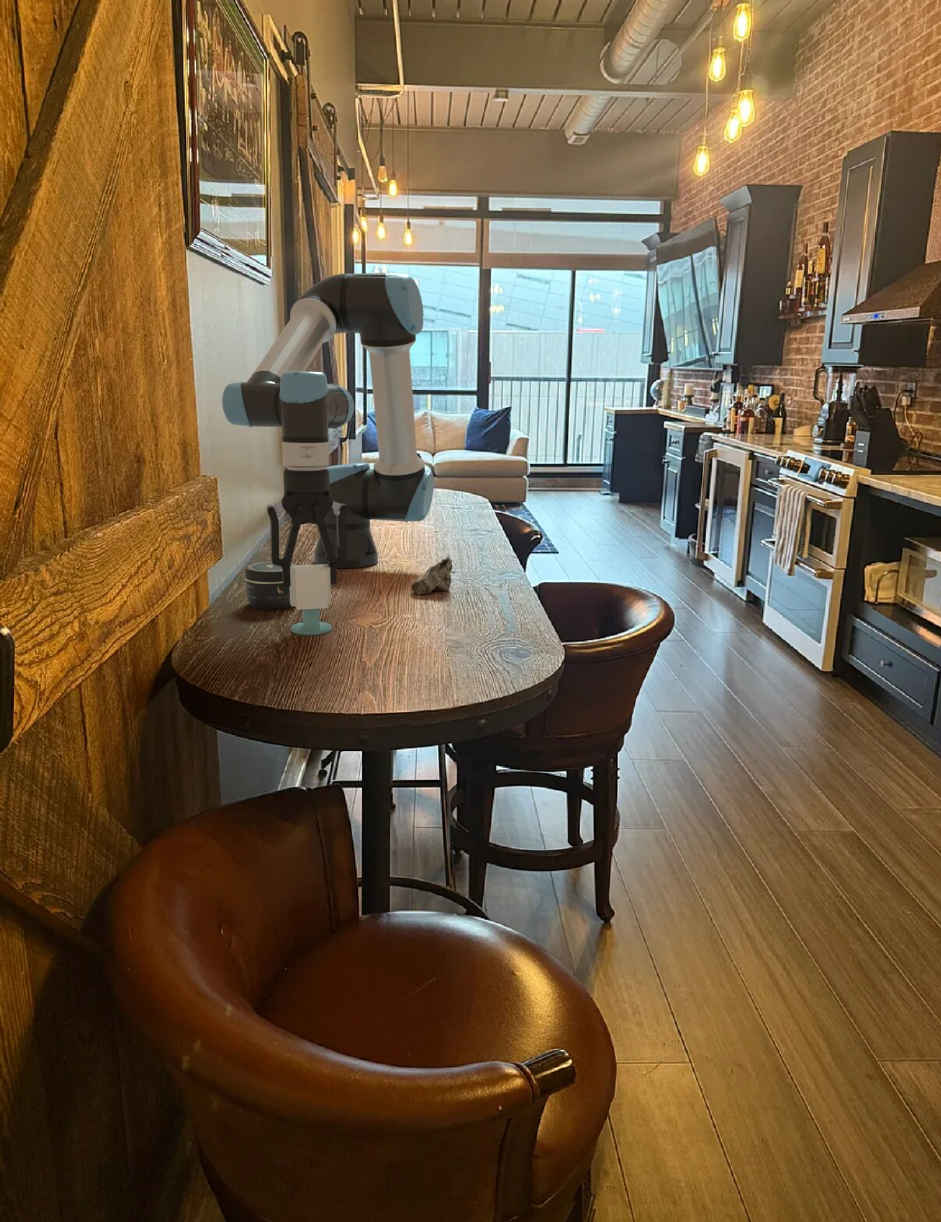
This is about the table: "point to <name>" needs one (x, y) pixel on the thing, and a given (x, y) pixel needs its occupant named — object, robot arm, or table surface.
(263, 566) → the jar
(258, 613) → the table surface
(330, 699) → the table surface
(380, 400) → the robot arm
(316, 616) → the teal post on base
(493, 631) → the table surface
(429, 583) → the rock
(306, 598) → the white rectangular block
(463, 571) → the table surface
